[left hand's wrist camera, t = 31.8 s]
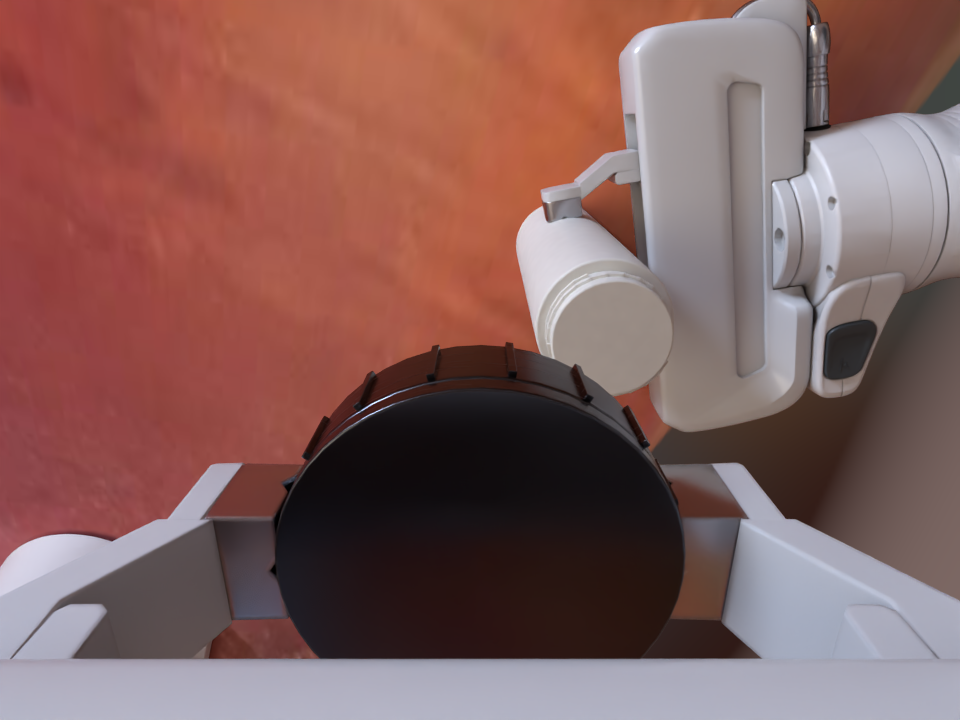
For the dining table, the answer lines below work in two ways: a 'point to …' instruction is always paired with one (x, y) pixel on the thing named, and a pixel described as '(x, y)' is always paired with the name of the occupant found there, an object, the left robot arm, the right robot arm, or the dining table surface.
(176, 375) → the dining table surface
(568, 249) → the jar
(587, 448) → the lid
